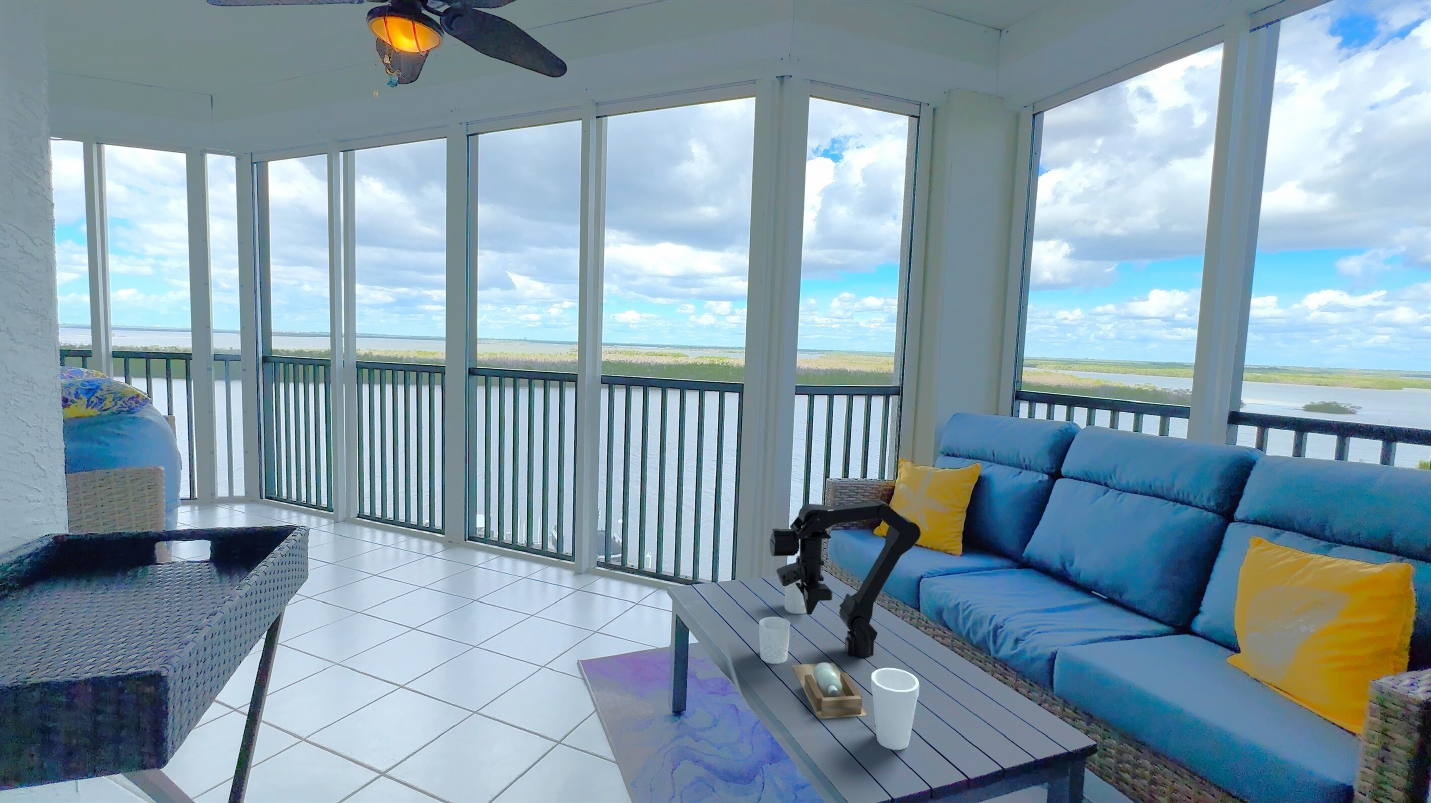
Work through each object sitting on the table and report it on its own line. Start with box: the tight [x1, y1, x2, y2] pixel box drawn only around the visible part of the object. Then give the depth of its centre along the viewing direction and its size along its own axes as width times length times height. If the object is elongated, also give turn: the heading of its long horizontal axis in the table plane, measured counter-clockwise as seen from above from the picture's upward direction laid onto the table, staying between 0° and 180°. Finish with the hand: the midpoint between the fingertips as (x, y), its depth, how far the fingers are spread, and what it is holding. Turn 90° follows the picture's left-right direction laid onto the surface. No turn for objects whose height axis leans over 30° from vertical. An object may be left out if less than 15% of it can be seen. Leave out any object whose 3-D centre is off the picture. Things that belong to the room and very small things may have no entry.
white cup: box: [758, 616, 791, 665], centre depth 161 cm, size 8×8×10 cm
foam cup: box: [870, 667, 920, 751], centre depth 129 cm, size 10×9×13 cm
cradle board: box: [791, 662, 868, 720], centre depth 147 cm, size 11×23×4 cm, turn 8°
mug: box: [784, 581, 807, 615], centre depth 192 cm, size 12×8×10 cm, turn 21°
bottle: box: [813, 662, 842, 698], centre depth 144 cm, size 5×5×10 cm
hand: (808, 614), depth 162 cm, fingers closed
